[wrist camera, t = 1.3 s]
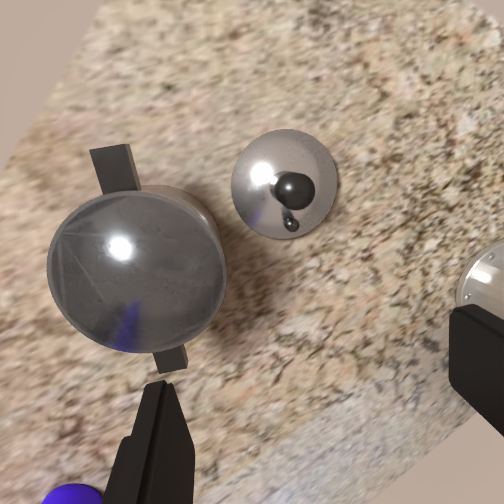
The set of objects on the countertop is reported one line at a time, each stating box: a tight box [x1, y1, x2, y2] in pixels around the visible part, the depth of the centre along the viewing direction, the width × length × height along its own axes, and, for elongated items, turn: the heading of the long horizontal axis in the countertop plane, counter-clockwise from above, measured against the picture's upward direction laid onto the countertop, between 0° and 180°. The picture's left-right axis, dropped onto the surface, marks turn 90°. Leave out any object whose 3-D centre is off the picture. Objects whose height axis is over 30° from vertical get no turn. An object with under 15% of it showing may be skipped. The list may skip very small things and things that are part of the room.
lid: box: [231, 129, 337, 239], centre depth 30 cm, size 11×11×6 cm
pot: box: [47, 144, 227, 374], centre depth 29 cm, size 14×20×9 cm
